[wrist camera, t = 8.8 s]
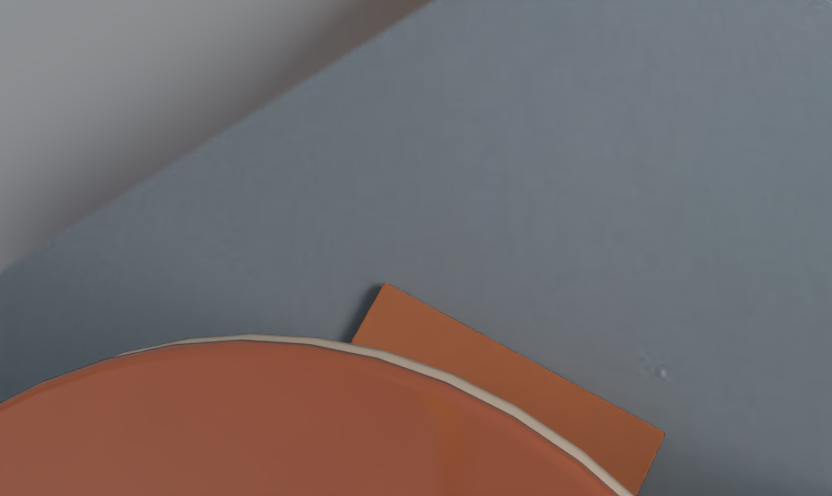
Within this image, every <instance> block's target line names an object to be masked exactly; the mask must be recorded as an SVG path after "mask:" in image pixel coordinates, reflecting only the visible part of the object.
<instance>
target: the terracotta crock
mask: <svg viewBox="0 0 832 496" xmlns="http://www.w3.org/2000/svg"><path fill="white" fill-rule="evenodd" d="M0 496H634V495H633V494H632V493H631V492H629V491H628V490H627V489H626V488H625V487H624V486H623V485H621V484H620V483H619V482H618V481H617V480H616V479H614V478H613V477H612V476H611V475H610V474H609V473H608V472H606V471H605V470H604V469H603V468H602V467H601V466H600V465H598V464H597V463H596V462H595V461H594V460H593V459H592V458H590V457H589V456H588V455H587V454H586V453H585V452H584V451H582V450H581V449H580V448H578V447H577V446H575V445H574V444H572V443H571V442H569V441H568V440H566V439H565V438H563V437H562V436H560V435H559V434H557V433H556V432H554V431H553V430H552V429H550V428H549V427H547V426H546V425H544V424H543V423H541V422H540V421H538V420H537V419H535V418H534V417H532V416H531V415H529V414H528V413H526V412H525V411H523V410H522V409H520V408H519V407H517V406H515V405H513V404H511V403H509V402H508V401H506V400H504V399H502V398H500V397H498V396H496V395H494V394H492V393H490V392H488V391H486V390H484V389H482V388H480V387H478V386H476V385H474V384H472V383H470V382H468V381H466V380H464V379H462V378H460V377H458V376H456V375H454V374H452V373H449V372H446V371H443V370H440V369H437V368H434V367H431V366H429V365H426V364H423V363H420V362H417V361H414V360H411V359H408V358H406V357H403V356H400V355H397V354H394V353H391V352H388V351H385V350H380V349H375V348H370V347H365V346H360V345H355V344H350V343H345V342H340V341H335V340H330V339H325V338H320V337H306V336H290V335H274V334H258V333H251V334H237V335H224V336H210V337H197V338H187V339H183V340H178V341H173V342H168V343H164V344H159V345H154V346H149V347H145V348H140V349H135V350H130V351H126V352H123V353H120V354H117V355H115V356H112V357H109V358H106V359H103V360H100V361H98V362H95V363H92V364H89V365H86V366H83V367H81V368H78V369H75V370H72V371H69V372H66V373H64V374H61V375H59V376H56V377H53V378H50V379H47V380H44V381H43V382H41V383H39V384H37V385H35V386H33V387H31V388H29V389H27V390H25V391H23V392H21V393H19V394H17V395H15V396H13V397H11V398H9V399H7V400H5V401H3V402H1V403H0Z"/></svg>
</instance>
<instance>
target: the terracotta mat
mask: <svg viewBox="0 0 832 496" xmlns="http://www.w3.org/2000/svg"><path fill="white" fill-rule="evenodd" d="M350 344H355V345H360V346H365V347H370V348H375V349H380V350H385V351H388V352H391V353H394V354H397V355H400V356H403V357H406V358H408V359H411V360H414V361H417V362H420V363H423V364H426V365H429V366H431V367H434V368H437V369H440V370H443V371H446V372H449V373H452V374H454V375H456V376H458V377H460V378H462V379H464V380H466V381H468V382H470V383H472V384H474V385H476V386H478V387H480V388H482V389H484V390H486V391H488V392H490V393H492V394H494V395H496V396H498V397H500V398H502V399H504V400H506V401H508V402H509V403H511V404H513V405H515V406H517V407H519V408H520V409H522V410H523V411H525V412H526V413H528V414H529V415H531V416H532V417H534V418H535V419H537V420H538V421H540V422H541V423H543V424H544V425H546V426H547V427H549V428H550V429H552V430H553V431H554V432H556V433H557V434H559V435H560V436H562V437H563V438H565V439H566V440H568V441H569V442H571V443H572V444H574V445H575V446H577V447H578V448H580V449H581V450H582V451H584V452H585V453H586V454H587V455H588V456H589V457H590V458H592V459H593V460H594V461H595V462H596V463H597V464H598V465H600V466H601V467H602V468H603V469H604V470H605V471H606V472H608V473H609V474H610V475H611V476H612V477H613V478H614V479H616V480H617V481H618V482H619V483H620V484H621V485H623V486H624V487H625V488H626V489H627V490H628V491H629V492H631V493H632V494H633V495H634V496H637V493H638V491H639V489H640V487H641V485H642V483H643V481H644V479H645V476H646V474H647V472H648V470H649V468H650V466H651V464H652V461H653V459H654V457H655V455H656V453H657V451H658V449H659V447H660V444H661V442H662V440H663V438H664V436H665V433H664V432H663V431H661V430H659V429H657V428H656V427H654V426H652V425H650V424H648V423H646V422H644V421H642V420H641V419H639V418H637V417H635V416H633V415H631V414H629V413H628V412H626V411H624V410H622V409H620V408H618V407H616V406H615V405H613V404H611V403H609V402H607V401H605V400H603V399H601V398H600V397H598V396H596V395H594V394H592V393H590V392H588V391H587V390H585V389H583V388H581V387H579V386H577V385H575V384H574V383H572V382H570V381H568V380H566V379H564V378H562V377H560V376H559V375H557V374H555V373H553V372H551V371H549V370H547V369H546V368H544V367H542V366H540V365H538V364H536V363H534V362H533V361H531V360H529V359H527V358H525V357H523V356H521V355H519V354H518V353H516V352H514V351H512V350H510V349H508V348H506V347H505V346H503V345H501V344H499V343H497V342H495V341H493V340H492V339H490V338H488V337H486V336H484V335H482V334H480V333H478V332H477V331H475V330H473V329H471V328H469V327H467V326H465V325H464V324H462V323H460V322H458V321H456V320H454V319H452V318H451V317H449V316H447V315H445V314H443V313H441V312H439V311H437V310H436V309H434V308H432V307H430V306H428V305H426V304H424V303H423V302H421V301H419V300H417V299H415V298H413V297H411V296H410V295H408V294H406V293H404V292H402V291H400V290H398V289H396V288H395V287H393V286H391V285H389V284H387V283H384V284H383V286H382V288H381V289H380V291H379V293H378V295H377V296H376V298H375V300H374V302H373V304H372V305H371V307H370V309H369V311H368V313H367V314H366V316H365V318H364V320H363V321H362V323H361V325H360V327H359V329H358V330H357V332H356V334H355V336H354V338H353V339H352V341H351V343H350Z"/></svg>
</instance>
